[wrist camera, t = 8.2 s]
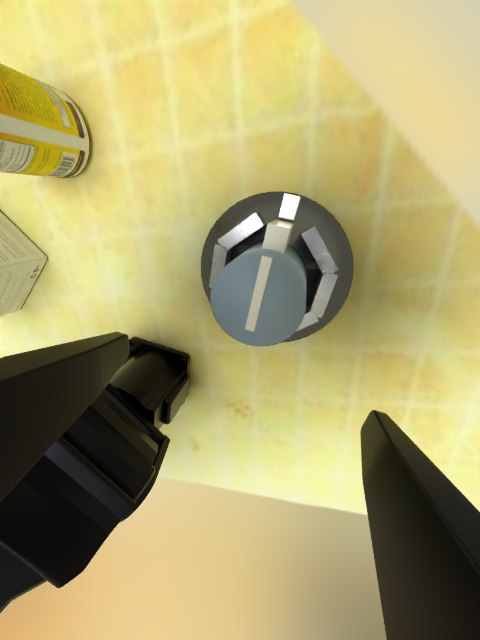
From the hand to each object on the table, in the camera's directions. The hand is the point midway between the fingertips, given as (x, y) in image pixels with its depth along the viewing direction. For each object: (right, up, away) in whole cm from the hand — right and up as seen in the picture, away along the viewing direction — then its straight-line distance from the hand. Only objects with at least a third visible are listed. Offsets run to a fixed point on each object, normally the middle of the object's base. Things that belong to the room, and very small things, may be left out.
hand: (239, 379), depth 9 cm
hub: (+3, +6, +10) cm, 12 cm away
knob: (+2, +5, +9) cm, 11 cm away
